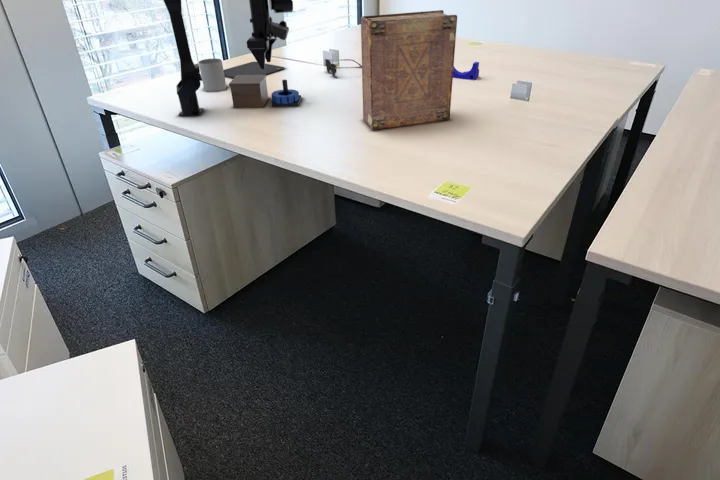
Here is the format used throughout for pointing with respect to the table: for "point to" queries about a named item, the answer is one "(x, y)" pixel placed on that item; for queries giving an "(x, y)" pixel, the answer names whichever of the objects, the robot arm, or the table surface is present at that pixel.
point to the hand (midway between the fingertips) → (266, 65)
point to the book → (407, 68)
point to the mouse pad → (251, 70)
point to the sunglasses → (334, 67)
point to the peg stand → (285, 90)
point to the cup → (212, 75)
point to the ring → (285, 96)
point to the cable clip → (468, 73)
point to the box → (249, 91)
